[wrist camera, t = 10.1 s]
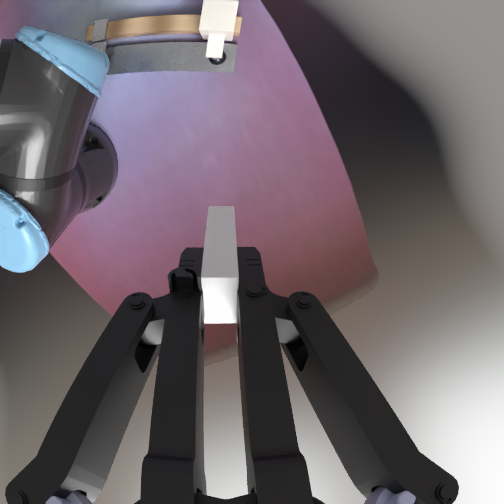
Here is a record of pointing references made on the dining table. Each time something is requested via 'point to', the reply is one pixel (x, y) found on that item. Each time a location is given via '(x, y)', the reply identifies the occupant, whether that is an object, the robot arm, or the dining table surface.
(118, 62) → the hole plate
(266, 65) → the dining table surface
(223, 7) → the block
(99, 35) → the fixed leg
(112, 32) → the beam
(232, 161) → the dining table surface
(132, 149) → the dining table surface
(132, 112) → the dining table surface
